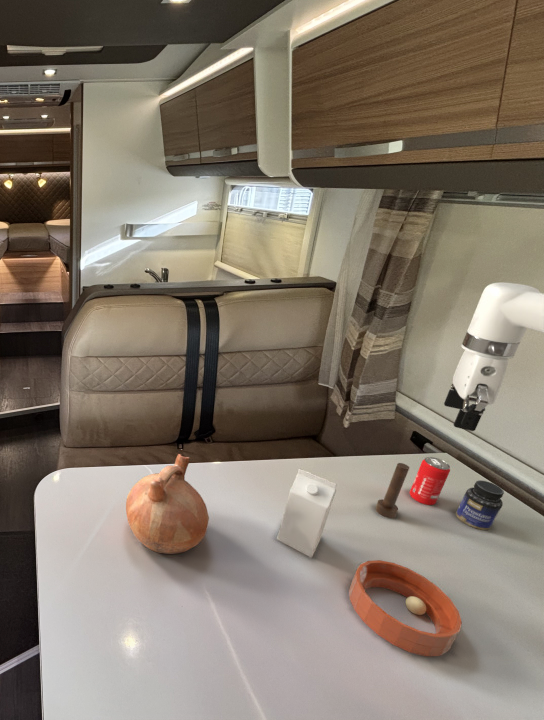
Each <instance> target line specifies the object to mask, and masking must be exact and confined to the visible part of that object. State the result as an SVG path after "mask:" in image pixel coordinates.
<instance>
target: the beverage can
mask: <svg viewBox="0 0 544 720" xmlns="http://www.w3.org/2000/svg"><path fill="white" fill-rule="evenodd" d="M450 472H451V466H450V464H449V463H447V461H445V460H442V459H440V458H437V457H433V456H427V457H424V459H422V460H421V463H420V466H419V468H418V470H417V472H416V475H415V478H414V479H413V482H412V485H411V488H410V490H409V495H410V497H411V498H412V499H413V500H414V501H416V502H418V503H420V504H423V505H426V506H434V505H435V504H436V503H437V502H438V499H439V497H440V494H441V493H442V490H443V488H444V486H445V483H446V481H447V479H448V477H449V475H450Z"/></svg>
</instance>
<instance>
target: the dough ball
mask: <svg viewBox="0 0 544 720" xmlns="http://www.w3.org/2000/svg"><path fill="white" fill-rule="evenodd" d="M405 607H406V608H407V609H408V610H409V612H410V613H412V614H415V615H417V616H422V615H425V614H426V613H425V612H426V605H425V603H424V602H423V601H422V600H421V599H419V598H417V597H413V596H411V597H408V598H407V597H406V599H405Z"/></svg>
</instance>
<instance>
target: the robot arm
mask: <svg viewBox="0 0 544 720" xmlns="http://www.w3.org/2000/svg"><path fill="white" fill-rule="evenodd" d="M527 329H529V330H533V331H536V332H539V333H542V334H544V292H541V291H540V290H539V289H538V288H536V287H535V286H531V285H527V284H523V283H515V282H503V281H502V282H500V281H499V282H493V283H490V284H488V285H487V286H485V287H484V289H483V291H482V293H481V296H480V298H479V301H478V303H477V306H476V308H475V311H474V312H473V316H472V317H471V321H470V323H469V325H468V328H467V330H466V333H465V334H464V337H463V340H462V343H461V345H460V348H462V349H463V350H464V351H463V353H462V355H461V356H460V359H459V361H458V364H457V366H456V368H455V371H454V373H453V376H452V383H451V385H450V389H448V393H447V395H446V397H445V400H444V402H443V405H444V406H445V407H448V408H452V409H458V413H457V415H456V418H455V420H454V422H453V427H454V428H457V429H462V430H466V431H471V432H475V431H476V429H477V427H478V425H479V422H480V421H481V418H482V416H483V415H484V412H485V411H486V407H487V406H488V405H491V406H492V405H494V403H495V402H496V400H497V397H498V395H499V392H500V389H501V387H502V385H503V383H504V379H505V377H506V376H505V375H506V372H507V369H508V365H509V360H511V359H514V357H515V354H516V353H517V350H518V349H519V347H520V346H519V345H520V344H521V342H522V339H523V338H524V335H525V333H526V331H527ZM470 403H471V404H470Z"/></svg>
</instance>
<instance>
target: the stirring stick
mask: <svg viewBox="0 0 544 720" xmlns="http://www.w3.org/2000/svg"><path fill="white" fill-rule="evenodd" d="M409 471H410V466H409V465H408V464H406V463H402V462H398V463H396V467H395V469H394V472H393V474H392V477H391V479H390V482H389V484H388V487H387V490H386V492H385V495H384V497H383V499H382V498H381V499H378V500H377V503H376V505H375V508H374V510H375V511H376V512H377V513H378V514H379V515H380V516H382V517H384V518H386V519H387V518H388V519H394V518H396V516H397V514H398V511H399V507H398V506H397V505H396V503H397V500H398V498H399V495H400V493H401V491H402V488H403V485H404V483H405V480H406V478H407V475H408V473H409Z"/></svg>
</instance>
